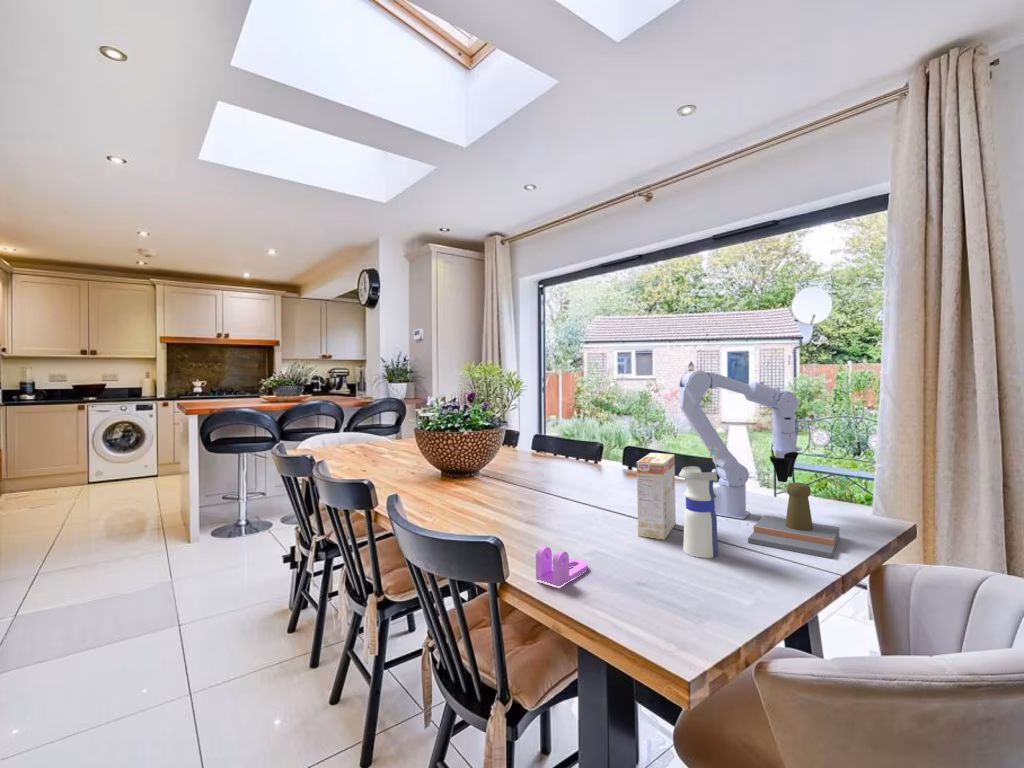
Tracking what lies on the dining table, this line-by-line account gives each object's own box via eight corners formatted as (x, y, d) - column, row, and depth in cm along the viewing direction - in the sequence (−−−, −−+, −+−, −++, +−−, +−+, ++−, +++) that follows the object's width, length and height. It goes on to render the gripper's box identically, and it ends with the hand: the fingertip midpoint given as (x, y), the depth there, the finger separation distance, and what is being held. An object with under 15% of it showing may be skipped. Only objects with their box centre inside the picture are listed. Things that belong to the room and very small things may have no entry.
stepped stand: (748, 542, 117) (748, 532, 117) (763, 525, 130) (763, 515, 130) (831, 558, 106) (831, 547, 106) (839, 537, 119) (839, 527, 119)
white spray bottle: (690, 542, 118) (688, 441, 117) (725, 551, 112) (724, 444, 111) (674, 551, 112) (672, 445, 112) (710, 561, 106) (709, 448, 105)
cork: (806, 523, 122) (806, 480, 122) (817, 531, 116) (817, 486, 116) (781, 522, 123) (780, 480, 123) (790, 530, 117) (790, 485, 117)
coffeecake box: (650, 520, 136) (649, 452, 136) (676, 524, 132) (675, 453, 132) (636, 536, 123) (635, 461, 123) (664, 540, 119) (663, 463, 119)
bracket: (559, 590, 94) (558, 555, 93) (536, 582, 97) (535, 548, 97) (592, 568, 104) (591, 536, 103) (570, 562, 107) (570, 531, 107)
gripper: (795, 436, 130) (796, 485, 130) (803, 430, 141) (805, 475, 142) (766, 434, 135) (767, 482, 135) (777, 429, 146) (778, 473, 146)
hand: (785, 479), depth 138 cm, fingers open, 7 cm apart
